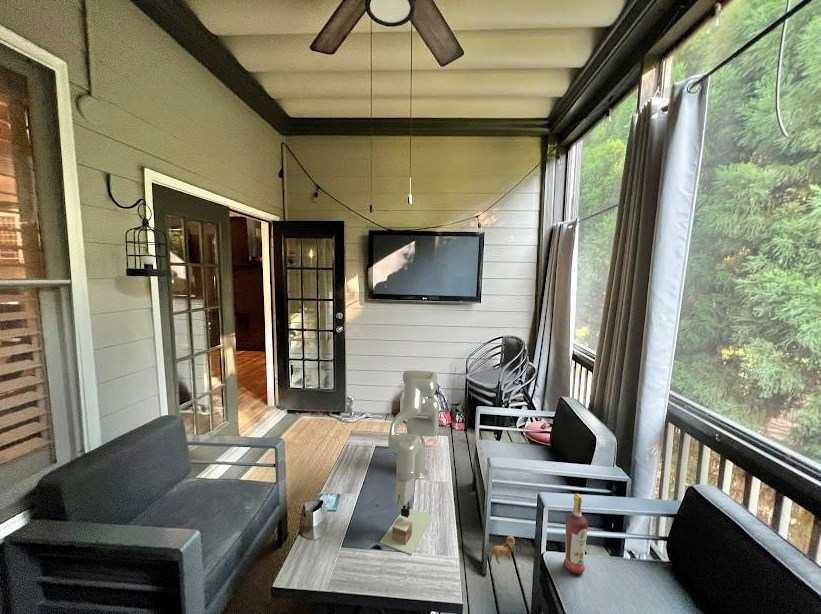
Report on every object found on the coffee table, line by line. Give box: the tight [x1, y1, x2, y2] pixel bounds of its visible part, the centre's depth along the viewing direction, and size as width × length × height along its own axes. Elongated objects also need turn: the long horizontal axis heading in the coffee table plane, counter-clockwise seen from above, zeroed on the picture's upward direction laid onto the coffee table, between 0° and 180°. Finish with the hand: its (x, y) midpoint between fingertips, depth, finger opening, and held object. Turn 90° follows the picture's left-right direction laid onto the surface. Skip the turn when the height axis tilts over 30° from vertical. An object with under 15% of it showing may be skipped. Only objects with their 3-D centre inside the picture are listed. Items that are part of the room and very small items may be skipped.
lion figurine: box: [488, 535, 516, 564], centre depth 127 cm, size 12×4×7 cm, turn 117°
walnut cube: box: [391, 516, 412, 545], centre depth 137 cm, size 6×6×6 cm
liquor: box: [563, 493, 589, 575], centre depth 123 cm, size 7×7×28 cm
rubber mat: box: [379, 508, 434, 556], centre depth 142 cm, size 23×14×1 cm, turn 155°
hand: (405, 515), depth 139 cm, fingers closed
